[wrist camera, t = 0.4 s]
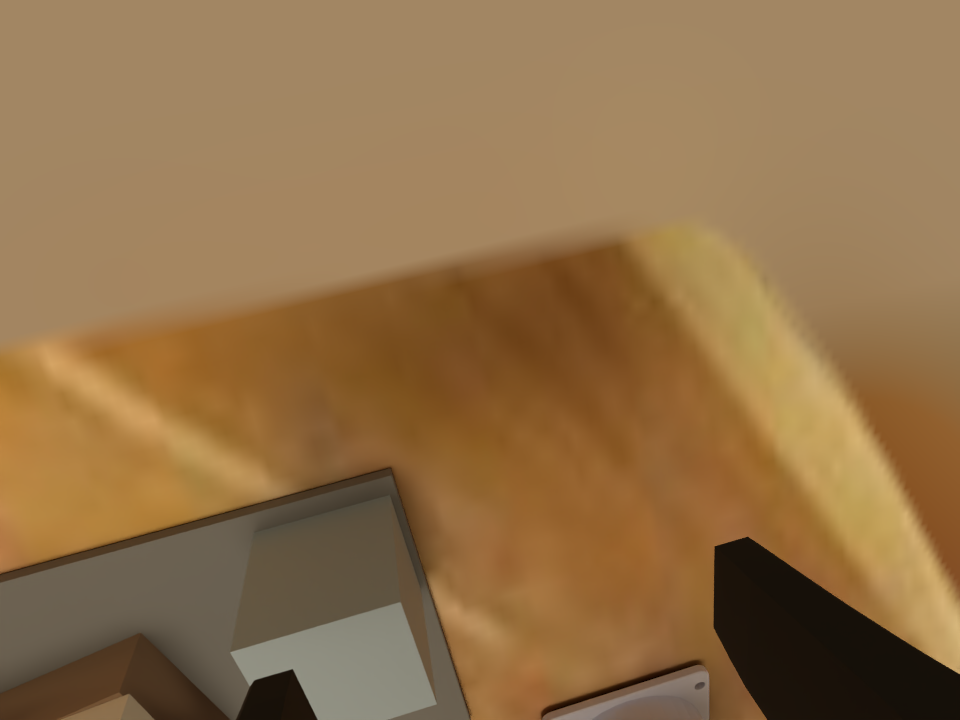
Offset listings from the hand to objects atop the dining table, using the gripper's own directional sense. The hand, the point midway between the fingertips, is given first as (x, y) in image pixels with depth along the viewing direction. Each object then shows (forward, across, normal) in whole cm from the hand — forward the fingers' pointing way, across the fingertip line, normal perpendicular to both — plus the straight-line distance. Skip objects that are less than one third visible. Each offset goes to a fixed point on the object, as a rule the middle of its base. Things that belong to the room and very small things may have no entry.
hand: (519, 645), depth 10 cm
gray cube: (+10, +5, +6) cm, 12 cm away
